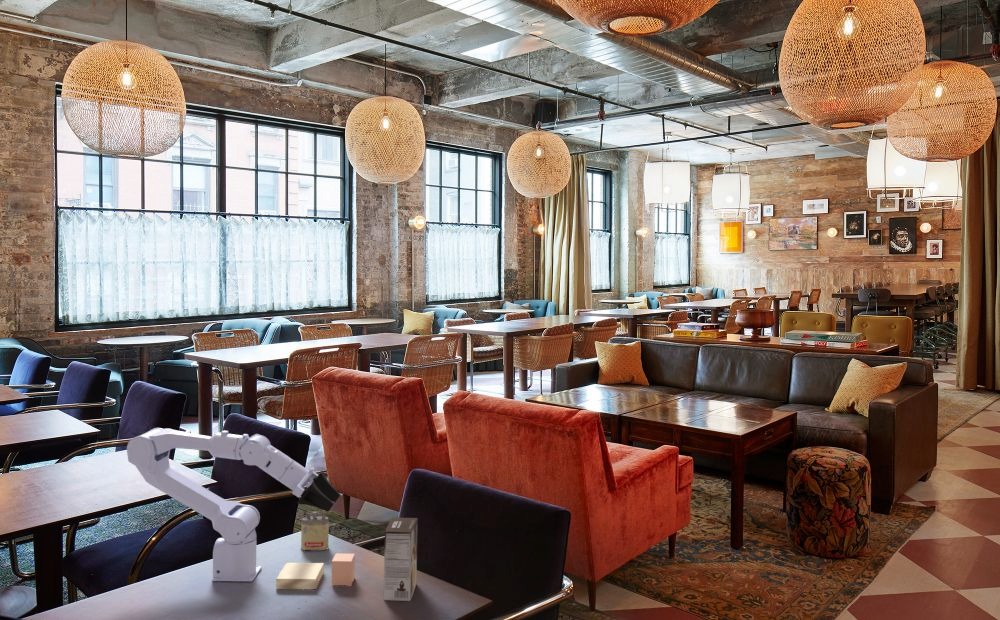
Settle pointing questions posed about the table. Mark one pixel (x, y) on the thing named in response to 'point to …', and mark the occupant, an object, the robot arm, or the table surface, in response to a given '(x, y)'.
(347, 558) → the terracotta block
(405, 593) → the coffee box
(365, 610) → the table surface
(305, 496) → the robot arm
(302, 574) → the birch block
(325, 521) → the yellow package
